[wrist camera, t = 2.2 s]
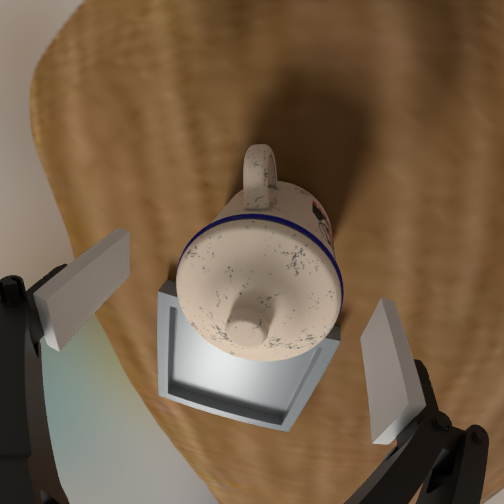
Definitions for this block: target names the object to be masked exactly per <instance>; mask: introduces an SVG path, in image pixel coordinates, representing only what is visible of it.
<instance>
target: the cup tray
mask: <svg viewBox="0 0 504 504" xmlns="http://www.w3.org/2000/svg"><path fill="white" fill-rule="evenodd" d="M340 341H341V340H340V326H335V325H334V326H333V328H332V329H331V331H330V332H329V333H328V335H327V336H326V337H325V338H324V339H323V340H322V341H321V342H320V343H318V344H317V345H316V346H314V347H313V348H312V349H310V350H308V351H307V352H305V353H303V354H300V355H298V356H295V357H292V358H289V359H284V360H278V361H254V360H248V359H243V358H239V357H236V356H233V355H231V354H228V353H226V352H224V351H222V350H220V349H218V348H216V347H215V346H213V345H212V344H210V343H209V342H207V341H206V340H205V339H204V338H203V337H202V336H201V335H199V334H198V333H197V331H196V330H195V329H194V328H193V327H192V326H191V324H190V323H189V321H188V320H187V318H186V317H185V315H184V313H183V311H182V308H181V306H180V303H179V299H178V295H177V289H176V282H173V281H170V280H166V282H165V283H164V284H163V285H162V287H161V288H160V289H159V291H158V316H157V352H158V389H159V396H162V397H165V398H167V399H170V400H173V401H176V402H179V403H182V404H185V405H187V406H191V407H194V408H197V409H200V410H203V411H206V412H210V413H213V414H216V415H220V416H223V417H227V418H230V419H234V420H238V421H242V422H246V423H250V424H254V425H258V426H262V427H267V428H271V429H276V430H281V431H285V432H288V431H289V430H290V428H291V427H292V425H293V424H294V422H295V420H296V419H297V417H298V416H299V414H300V412H301V411H302V409H303V408H304V406H305V404H306V403H307V401H308V399H309V398H310V396H311V394H312V392H313V391H314V389H315V387H316V386H317V384H318V382H319V380H320V379H321V377H322V375H323V373H324V371H325V370H326V368H327V366H328V364H329V362H330V360H331V359H332V357H333V355H334V353H335V351H336V349H337V347H338V345H339V343H340Z"/></svg>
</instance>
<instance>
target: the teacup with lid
mask: <svg viewBox="0 0 504 504" xmlns="http://www.w3.org/2000/svg"><path fill="white" fill-rule="evenodd" d="M176 289H177V295H178V299H179V303H180V306H181V308H182V311H183V313H184V315H185V317H186V318H187V320H188V321H189V323H190V324H191V326H192V327H193V328H194V329H195V330H196V331H197V333H198V334H199V335H201V336H202V337H203V338H204V339H205V340H206V341H207V342H209V343H210V344H212V345H213V346H215V347H216V348H218V349H220V350H222V351H224V352H226V353H228V354H231V355H233V356H236V357H239V358H243V359H248V360H254V361H278V360H284V359H289V358H292V357H295V356H298V355H300V354H303V353H305V352H307V351H308V350H310V349H312V348H313V347H314V346H316V345H317V344H318V343H320V342H321V341H322V340H323V339H324V338H325V337H326V336H327V335H328V333H329V332H330V331H331V329H332V328H333V326H334V324H335V322H336V320H337V318H338V316H339V314H340V311H341V308H342V303H343V292H344V291H343V281H342V276H341V273H340V270H339V267H338V265H337V263H336V260H335V252H334V244H333V237H332V230H331V225H330V221H329V218H328V216H327V213H326V211H325V210H324V208H323V206H322V205H321V204H320V202H319V201H318V200H317V199H316V198H315V197H314V196H313V195H311V194H310V193H309V192H307V191H306V190H304V189H303V188H301V187H299V186H296V185H294V184H291V183H287V182H282V181H277V171H276V162H275V157H274V154H273V151H272V149H271V148H270V147H269V146H268V145H266V144H255V145H252V146H250V147H249V148H248V150H247V152H246V154H245V159H244V167H243V190H241V191H240V192H238V193H237V194H236V195H235V196H234V197H233V198H232V199H231V200H230V201H229V202H228V203H227V205H226V206H225V207H224V208H223V209H222V210H221V212H220V213H219V214H218V215H217V216H216V218H215V219H214V220H213V221H212V222H211V224H209V225H208V226H206V227H205V228H203V229H202V230H201V231H199V232H198V233H197V234H196V235H195V236H194V237H193V238H192V239H191V240H190V242H189V243H188V244H187V246H186V247H185V249H184V251H183V253H182V255H181V257H180V260H179V264H178V269H177V276H176Z"/></svg>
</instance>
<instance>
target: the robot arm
mask: <svg viewBox="0 0 504 504" xmlns="http://www.w3.org/2000/svg"><path fill="white" fill-rule="evenodd" d="M129 276H130V231H127V230H124V229H120V228H117V229H116V230H114V231H113V232H112V233H110V234H109V235H107V236H106V237H105V238H103V239H102V240H101V241H99V242H98V243H96V244H95V245H94V246H92V247H91V248H90V249H88V250H87V251H86V252H84V253H83V254H82V255H80V256H79V257H78V258H77V259H75V260H74V261H73V262H71V263H70V264H69V265H67V264H63V265H61V266H58V267H56V268H54V269H53V270H52V271H51V272H49V274H47V275H46V276H44V277H43V279H41V280H39V281H38V282H37V283H35V284H34V285H33V286H32V287H31V288H30V289H28V290H27V291H25V286H24V282H23V279H22V278H21V277H19V276H16V275H10V276H6V277H4V278H2V279H1V280H0V504H69V501H68V498H67V496H66V494H65V492H64V490H63V489H62V486H61V484H60V481H59V477H58V473H57V469H56V464H55V460H54V455H53V450H52V445H51V440H50V435H49V428H48V423H47V416H46V407H45V399H44V389H43V377H42V362H41V361H42V360H41V344H40V341H39V340H40V339H41V338H42V337H43V336H45V340H46V343H47V345H48V346H50V347H52V348H54V349H56V350H58V351H59V352H60V351H61V350H62V349H63V347H64V346H65V345H66V344H67V343H68V342H69V341H70V340H71V338H72V337H73V336H74V335H75V334H76V333H77V332H78V331H79V329H80V328H81V327H82V326H83V325H84V324H85V323H86V322H87V321H88V319H89V318H90V317H91V316H92V315H93V314H94V313H95V312H96V311H97V310H98V309H99V307H100V306H101V305H102V304H103V303H104V302H105V301H106V300H107V299H108V298H109V297H110V296H111V295H112V294H113V293H114V291H115V290H116V289H117V288H118V287H119V286H120V285H121V284H122V283H123V282H124V281H125V280H126V279H127V278H128V277H129ZM360 340H361V347H362V354H363V361H364V368H365V376H366V384H367V392H368V401H369V411H370V421H371V433H372V443H373V444H389V443H391V442H392V441H393V440H394V439H395V438H396V439H397V445H396V446H395V447H394V448H393V449H392V450H391V451H390V452H389V453H388V454H386V455H385V456H384V458H385V459H384V460H383V462H382V463H381V464H380V465H379V466H378V467H377V469H376V470H375V471H374V472H373V473H372V474H371V475H370V477H369V478H368V479H367V480H366V481H365V482H364V483H363V484H362V485H361V486H360V487H359V489H358V490H357V491H356V492H355V493H354V494H353V495H352V496H351V497H350V498H349V499H348V500H347V501H346V502H345V503H344V504H408V503H409V502H410V500H411V499H412V498H413V496H414V495H415V493H416V492H417V490H418V489H419V487H420V486H421V484H422V483H423V485H422V488H421V491H420V494H419V497H418V499H417V502H416V504H480V500H481V495H482V490H483V484H484V478H485V472H486V464H487V456H488V447H489V437H488V434H487V432H486V431H485V430H484V428H482V427H481V426H479V425H476V424H475V425H471V426H470V427H469V428H468V429H467V430H465V431H464V430H461V429H458V428H456V427H453V426H452V422H451V420H450V419H449V417H448V416H447V415H446V414H445V413H443V412H441V411H439V409H438V406H437V402H436V399H435V395H434V392H433V388H432V387H431V382H430V380H429V375H428V372H427V369H426V367H425V366H424V365H423V363H422V362H421V361H420V360H415V359H413V356H412V353H411V350H410V346H409V343H408V340H407V337H406V334H405V331H404V328H403V325H402V322H401V319H400V316H399V314H398V311H397V308H396V305H395V302H394V301H392V300H388V299H384V298H381V299H380V301H379V303H378V305H377V307H376V309H375V311H374V313H373V315H372V317H371V319H370V321H369V323H368V325H367V327H366V329H365V330H364V332H363V334H362V336H361V338H360ZM423 481H424V482H423Z"/></svg>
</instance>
